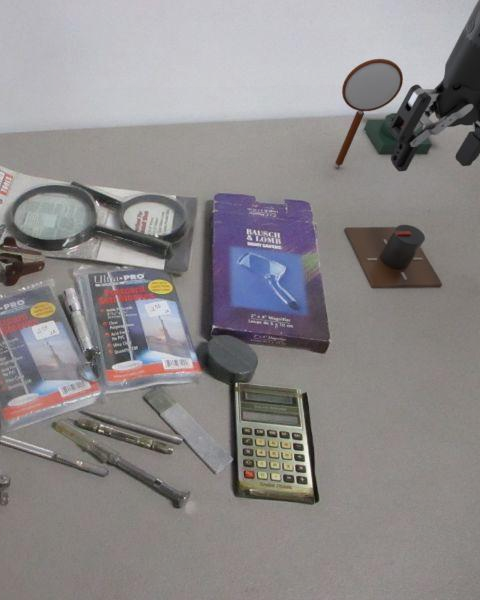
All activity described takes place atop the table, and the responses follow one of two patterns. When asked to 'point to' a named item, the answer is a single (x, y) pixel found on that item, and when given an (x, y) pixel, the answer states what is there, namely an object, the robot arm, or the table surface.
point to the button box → (389, 136)
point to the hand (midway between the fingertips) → (430, 164)
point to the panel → (379, 274)
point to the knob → (402, 246)
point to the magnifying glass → (368, 93)
